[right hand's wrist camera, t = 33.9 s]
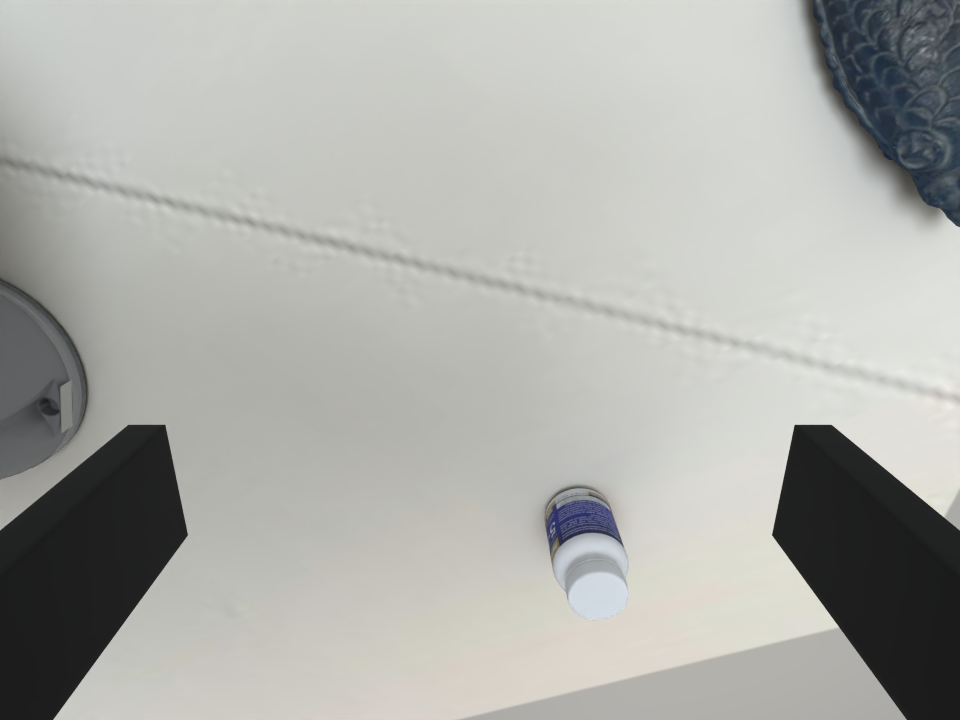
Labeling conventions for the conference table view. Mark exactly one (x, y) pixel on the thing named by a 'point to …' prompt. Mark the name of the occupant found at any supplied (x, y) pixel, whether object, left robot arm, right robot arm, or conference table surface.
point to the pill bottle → (587, 553)
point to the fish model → (902, 84)
